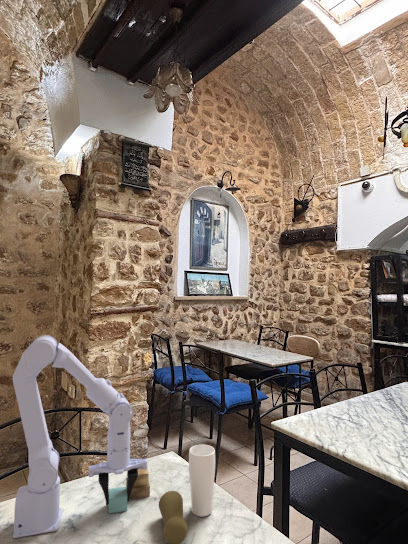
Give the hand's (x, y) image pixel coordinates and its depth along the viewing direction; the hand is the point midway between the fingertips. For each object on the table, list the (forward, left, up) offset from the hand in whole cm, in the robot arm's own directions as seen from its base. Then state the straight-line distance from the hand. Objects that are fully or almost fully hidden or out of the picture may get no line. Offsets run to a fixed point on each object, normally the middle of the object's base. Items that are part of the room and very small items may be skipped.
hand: (117, 500), depth 86 cm
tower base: (+6, +5, -2) cm, 8 cm away
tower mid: (+6, +6, +1) cm, 8 cm away
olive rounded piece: (+13, -7, +2) cm, 14 cm away
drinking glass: (+21, -7, -2) cm, 22 cm away
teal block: (0, 0, -1) cm, 1 cm away
